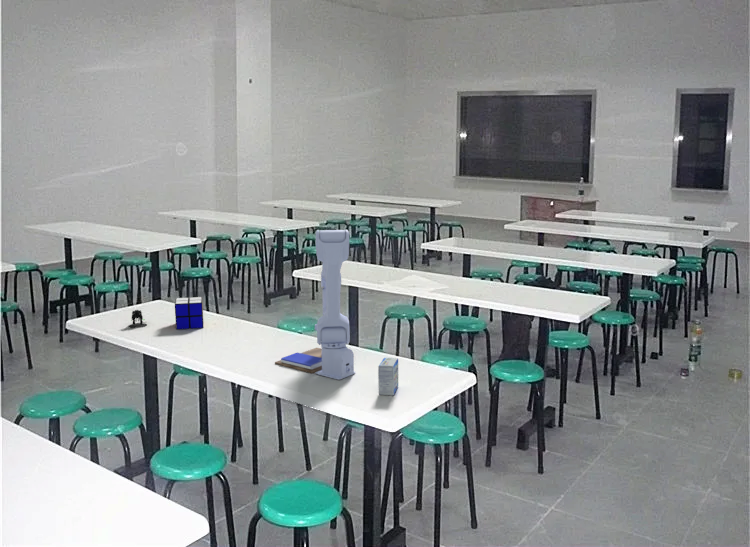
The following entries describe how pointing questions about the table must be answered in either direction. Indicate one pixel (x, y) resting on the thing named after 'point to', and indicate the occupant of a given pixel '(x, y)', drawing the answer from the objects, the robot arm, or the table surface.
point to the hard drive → (302, 360)
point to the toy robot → (136, 315)
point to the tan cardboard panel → (313, 352)
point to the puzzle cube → (189, 313)
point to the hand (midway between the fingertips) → (331, 347)
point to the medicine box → (388, 376)
